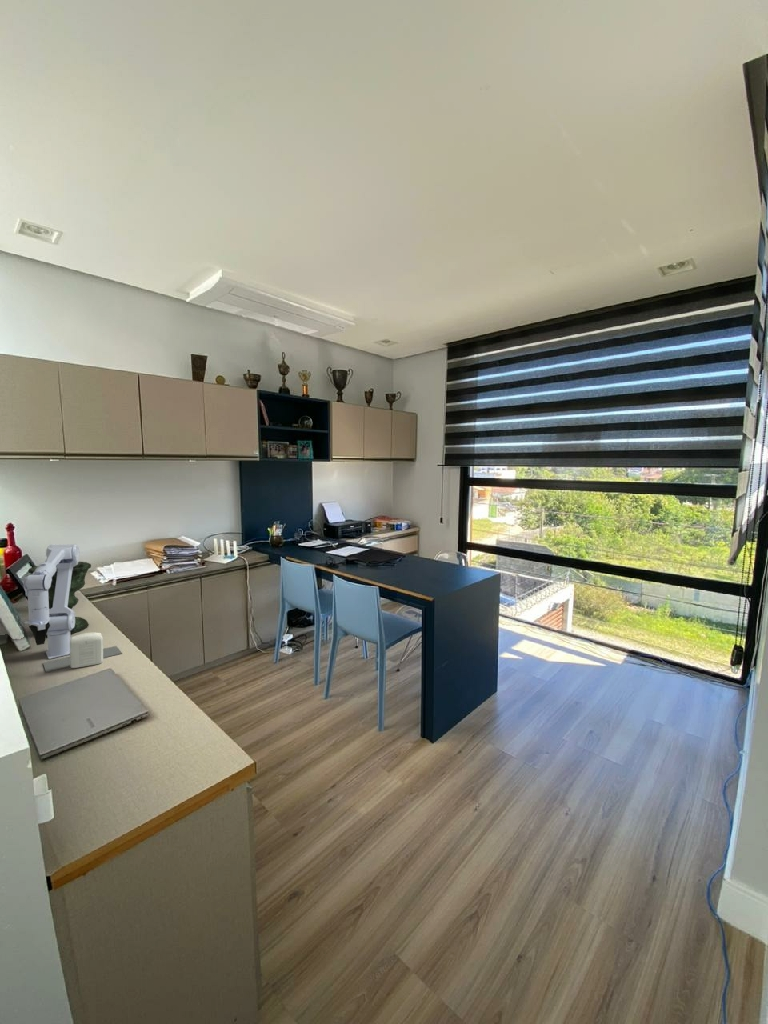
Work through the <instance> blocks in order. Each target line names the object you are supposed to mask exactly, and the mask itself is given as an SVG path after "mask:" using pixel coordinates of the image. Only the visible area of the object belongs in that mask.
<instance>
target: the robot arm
mask: <svg viewBox="0 0 768 1024" xmlns="http://www.w3.org/2000/svg"><path fill="white" fill-rule="evenodd" d="M45 556H46V559H45V560H44V562H41V563H40V564H39V565H37V566H38V567H37V569H36V570H35V571H34V573H33V574H30V575H27V576H26V577H25V578H24V580H23V589H24V591H25V597H27V607H28V608H27V609H28V620H25V621H24V624H25V625H29V626H28V627H29V630H30V631H31V632H32V634H33V638H34V641H35V643H36V646H41V645H45V643H46V639H47V649H46V650H45V654H46V657H47V659H48V660H51V659H54V658H60V657H63V656H68V655H69V656H70V641H71V634H70V630H72V629H73V628H74V626H75V617H76V612H75V610H73V608H72V609H70V608H68V599H69V591H70V584H71V576H72V570H73V567H74V566H76V565H78V562H79V559H80V547H79V546H78V544H76V543H74V544H49V545H48V546H47V548H46V550H45ZM56 568H57V569H58V573H57V580H56V587H55V594H54V601H53V607H52V608H51V609H49V595H48V589H49V588H50V586H51V581H52V577H53V575H54V574H55V572H56ZM57 615H61V616H57ZM46 635H47V636H48V637H46Z"/></svg>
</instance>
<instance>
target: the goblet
mask: <svg viewBox="0 0 768 1024" xmlns="http://www.w3.org/2000/svg"><path fill="white" fill-rule="evenodd" d="M38 566H39V565H36V566H33V567H30V568H29V569H28V570H27V572H28V574H30V575H32V574H33V573H34V571H35V570H36V569H37V567H38ZM91 567H92V564H91V563H90V562H87V561H78V565H76V566H74V567H73V570H72V576H71V584H70V591H69V599H68V608H70V609H72V610H73V608H74V607H75V606H76V605H77V604H78V603H79V598H78V597H77V596H76V595H75V594H76V592H78V591H79V590H81V589H82V588H83V587H85V584H86V582H85V581H86V580H85V579H86V575H87V572H88V571H89V569H91ZM57 573H58V569H57V568H56V572H55V574H54V575H53V577H52V581H51V586H50V588H49V589H48V599H49V609H51V608H52V607H53V601H54V594H55V587H56V580H57ZM57 616H61V615H57ZM89 626H90V624H89V622H88V621H87V620H86V619H85V618H84V617H80V616H75V626H74V628H73V629H72V630H70V635H72V634H75V633H78V632H81V631H83V630H85V629H87V628H88V627H89ZM46 638H48V636H47V635H46Z"/></svg>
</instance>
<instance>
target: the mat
mask: <svg viewBox="0 0 768 1024" xmlns="http://www.w3.org/2000/svg"><path fill="white" fill-rule="evenodd" d="M122 654H123V652H122V651H121V650H120V648H118V646H117V645H114V646H109V647H105V648H104V647H103V659H107V658H110V657H111V658H112V657H115V656H119V655H122ZM42 665H43V669H44V671H45V672H46V673H50V672H53V671H58V670H62V669H67V668H71V667H70V656H66V657H63V658H62V657H61V658H57V659H53V660H49V661H48V660H47V661H45V662H42Z"/></svg>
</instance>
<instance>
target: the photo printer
mask: <svg viewBox="0 0 768 1024" xmlns="http://www.w3.org/2000/svg"><path fill="white" fill-rule="evenodd" d="M70 639H71V641H70V654H69V657H70V667H69V668H71V669H76V668H77V669H78V668H83V667H89V666H94V665H100V664H102V663H104V658H103V649H104V638H103V636H102V633H101V632H84V633H81V634H76V635H74V636H71V637H70Z"/></svg>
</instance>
